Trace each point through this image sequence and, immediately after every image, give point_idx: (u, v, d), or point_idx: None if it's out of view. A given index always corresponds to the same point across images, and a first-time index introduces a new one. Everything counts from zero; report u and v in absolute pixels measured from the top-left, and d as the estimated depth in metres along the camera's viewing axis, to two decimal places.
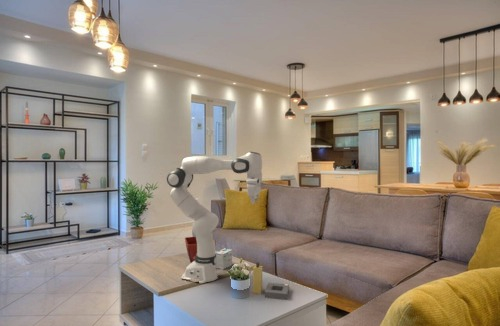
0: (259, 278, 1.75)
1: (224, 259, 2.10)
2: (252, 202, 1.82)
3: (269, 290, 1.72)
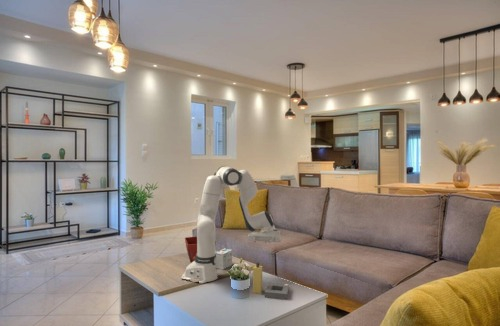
0: (259, 278, 1.75)
1: (224, 259, 2.10)
2: (271, 240, 1.88)
3: (269, 290, 1.72)
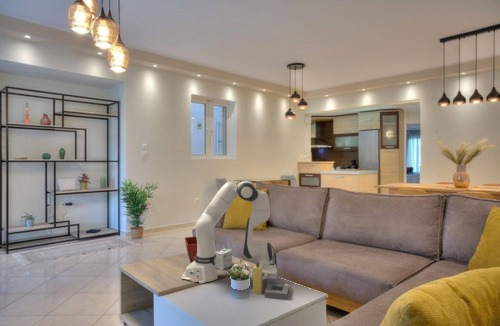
0: (259, 278, 1.75)
1: (224, 259, 2.10)
2: (264, 277, 1.76)
3: (269, 290, 1.72)
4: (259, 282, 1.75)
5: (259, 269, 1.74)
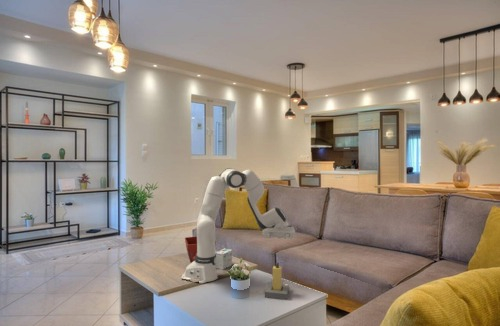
0: (279, 279, 1.72)
1: (224, 259, 2.10)
2: (286, 236, 1.86)
3: (269, 290, 1.72)
4: (279, 283, 1.72)
5: (279, 270, 1.72)
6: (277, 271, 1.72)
